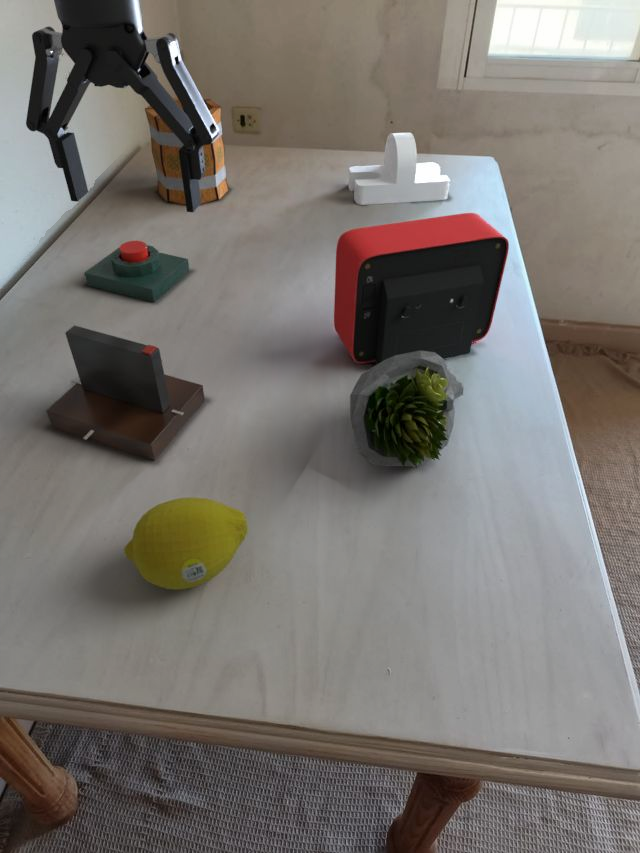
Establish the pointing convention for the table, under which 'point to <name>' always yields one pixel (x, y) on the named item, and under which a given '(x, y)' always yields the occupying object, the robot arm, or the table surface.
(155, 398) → the dark grey slab
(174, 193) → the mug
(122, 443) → the dial panel
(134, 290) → the button block
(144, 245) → the button
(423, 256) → the alarm clock
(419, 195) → the white caddy with handle
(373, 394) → the potted plant
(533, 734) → the table surface
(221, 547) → the lemon
